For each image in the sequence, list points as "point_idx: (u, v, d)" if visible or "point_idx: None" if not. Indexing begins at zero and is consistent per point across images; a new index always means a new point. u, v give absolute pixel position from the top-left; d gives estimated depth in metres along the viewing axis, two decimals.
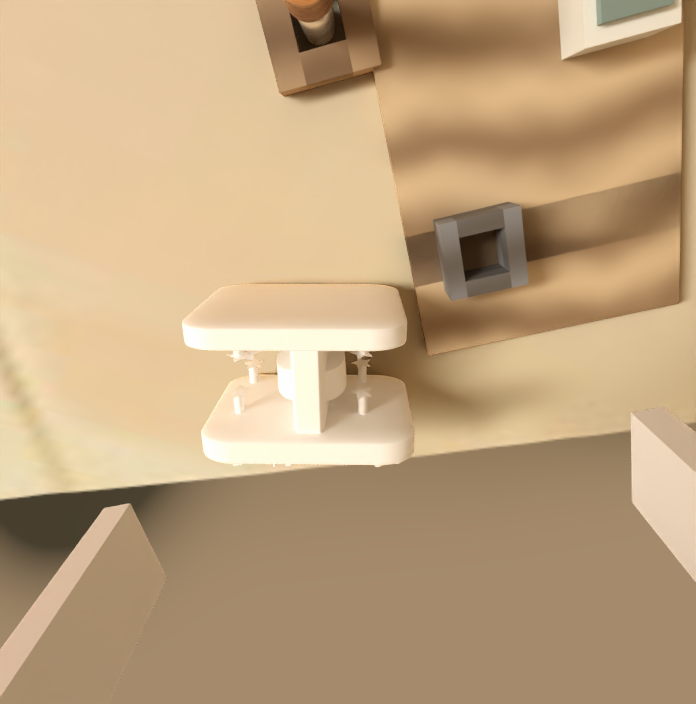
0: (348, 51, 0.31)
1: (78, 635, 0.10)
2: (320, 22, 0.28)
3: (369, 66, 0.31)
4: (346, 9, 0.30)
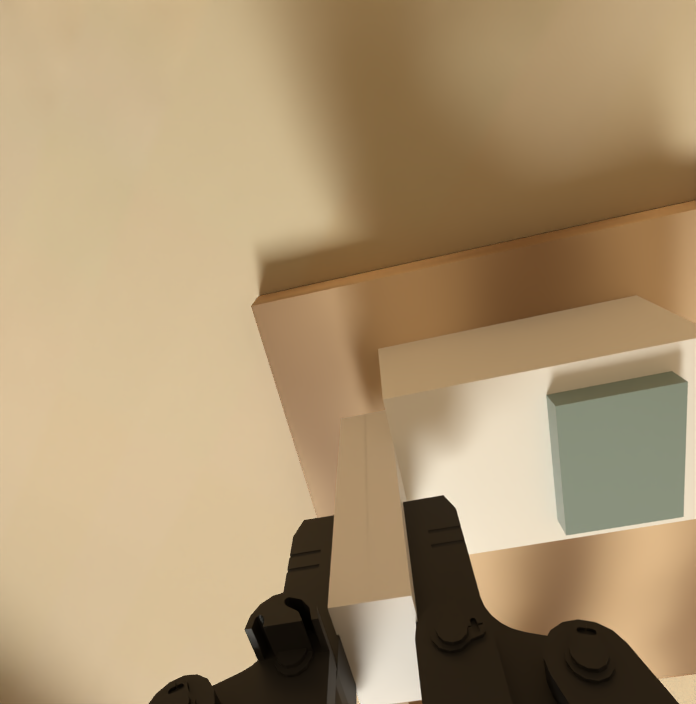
0: None
1: None
2: None
3: None
4: None
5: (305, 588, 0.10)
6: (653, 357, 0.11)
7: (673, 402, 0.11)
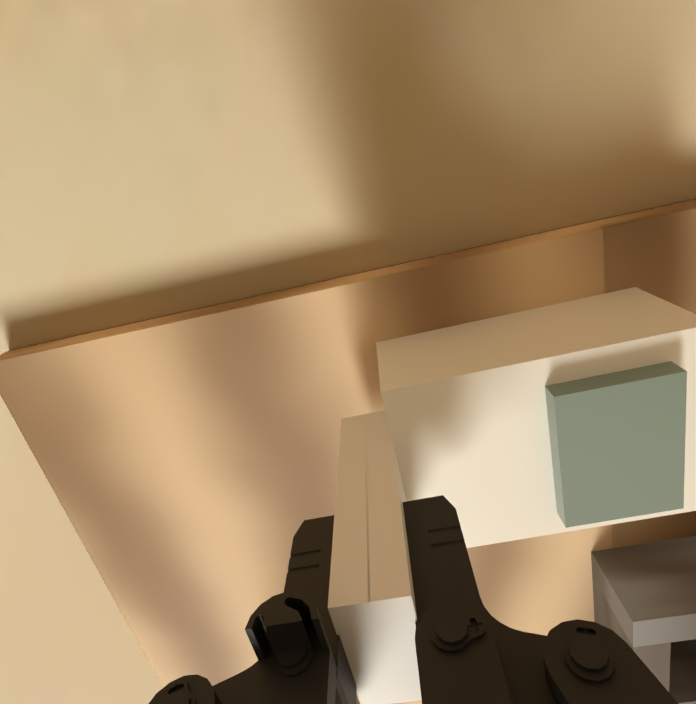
0: None
1: None
2: None
3: None
4: None
5: (305, 588, 0.10)
6: (652, 347, 0.11)
7: (673, 392, 0.11)
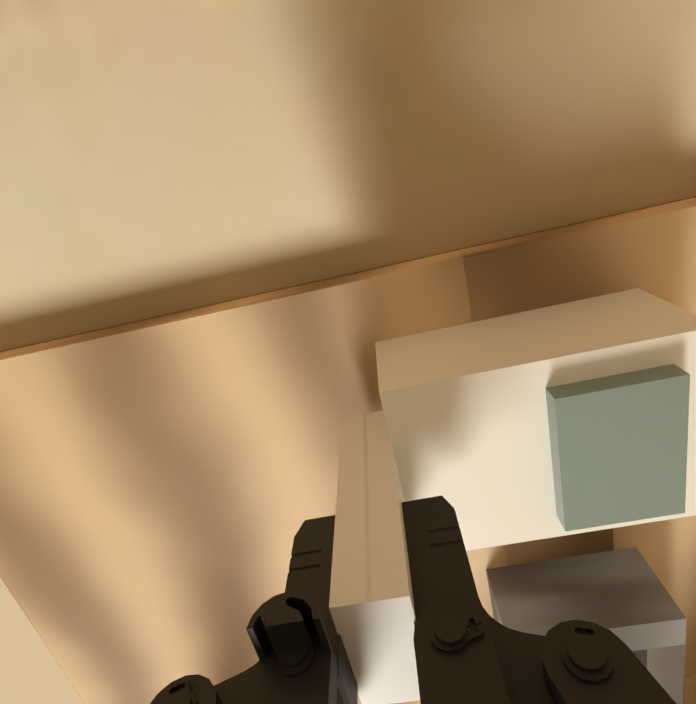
0: None
1: None
2: None
3: None
4: None
5: (306, 588, 0.10)
6: (654, 350, 0.11)
7: (675, 396, 0.11)
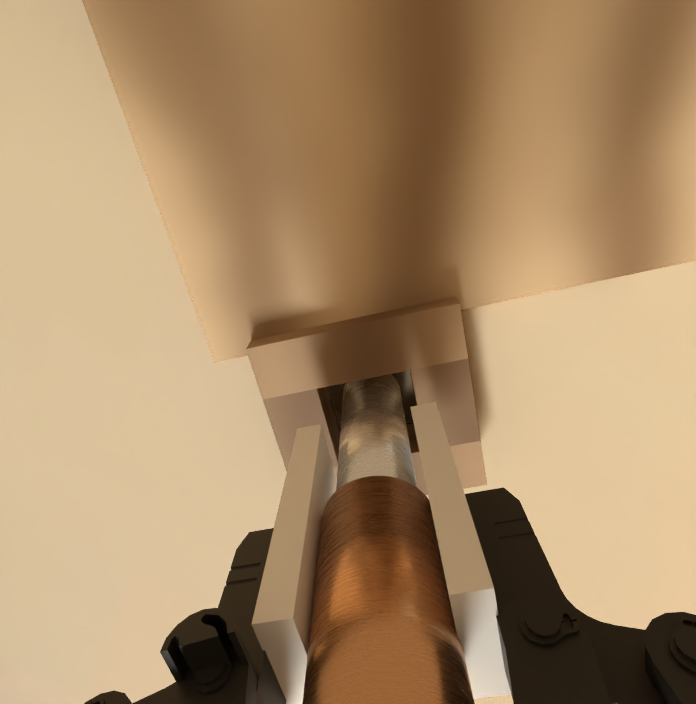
0: (431, 366, 0.16)
1: (320, 520, 0.12)
2: (411, 463, 0.13)
3: (461, 326, 0.15)
4: (361, 368, 0.16)
5: (240, 602, 0.10)
6: None
7: None
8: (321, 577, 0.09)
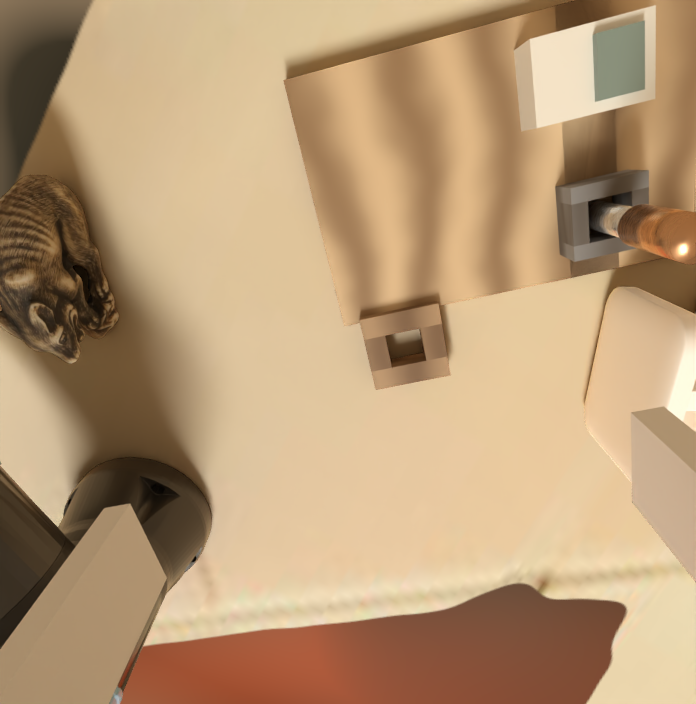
0: (428, 326, 0.42)
1: (78, 635, 0.10)
2: None
3: (439, 311, 0.41)
4: (402, 327, 0.42)
5: None
6: (632, 16, 0.31)
7: (640, 30, 0.31)
8: (641, 219, 0.30)
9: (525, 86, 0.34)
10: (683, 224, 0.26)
